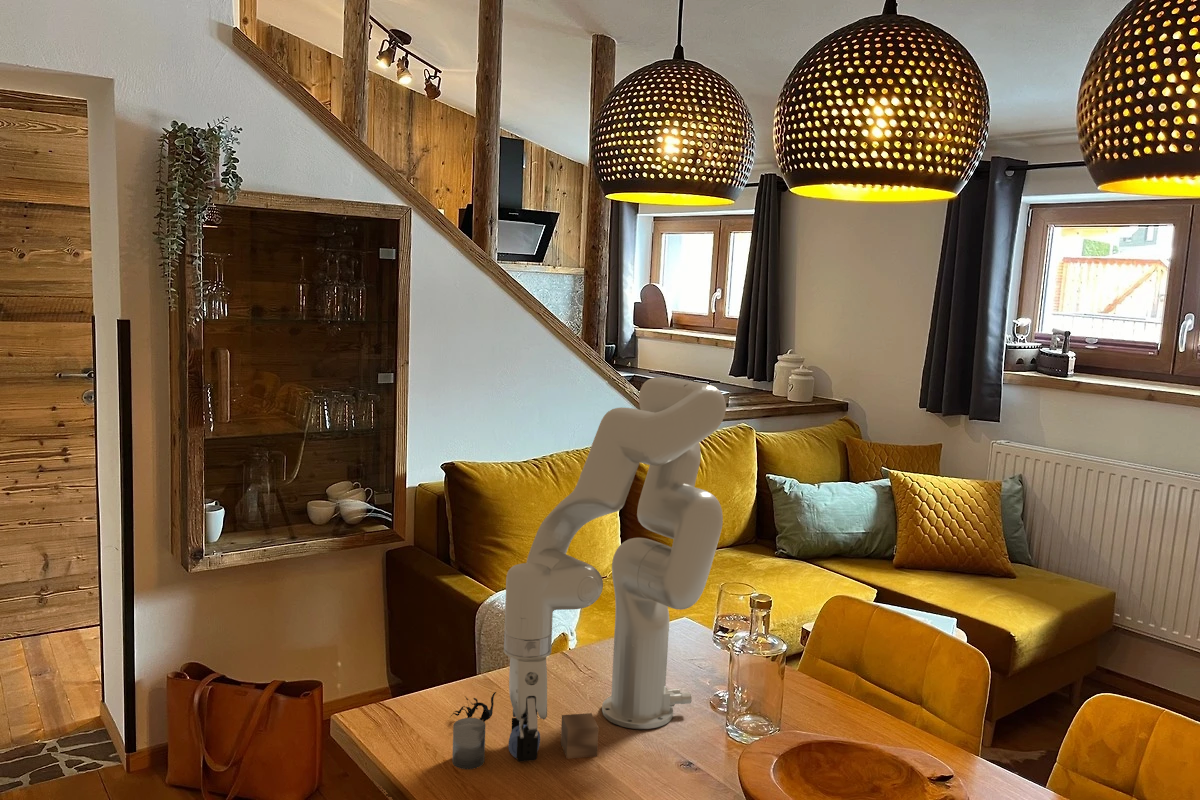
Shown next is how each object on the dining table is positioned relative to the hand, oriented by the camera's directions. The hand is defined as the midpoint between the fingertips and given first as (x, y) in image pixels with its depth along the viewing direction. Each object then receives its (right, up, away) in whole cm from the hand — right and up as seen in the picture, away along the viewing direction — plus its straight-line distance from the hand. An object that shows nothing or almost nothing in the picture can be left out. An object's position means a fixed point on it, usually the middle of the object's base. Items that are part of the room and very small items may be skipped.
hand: (523, 749), depth 151 cm
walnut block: (+9, -1, +2) cm, 9 cm away
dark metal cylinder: (-8, -1, -3) cm, 9 cm away
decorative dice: (0, -1, 0) cm, 1 cm away
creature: (-10, +1, +10) cm, 14 cm away
